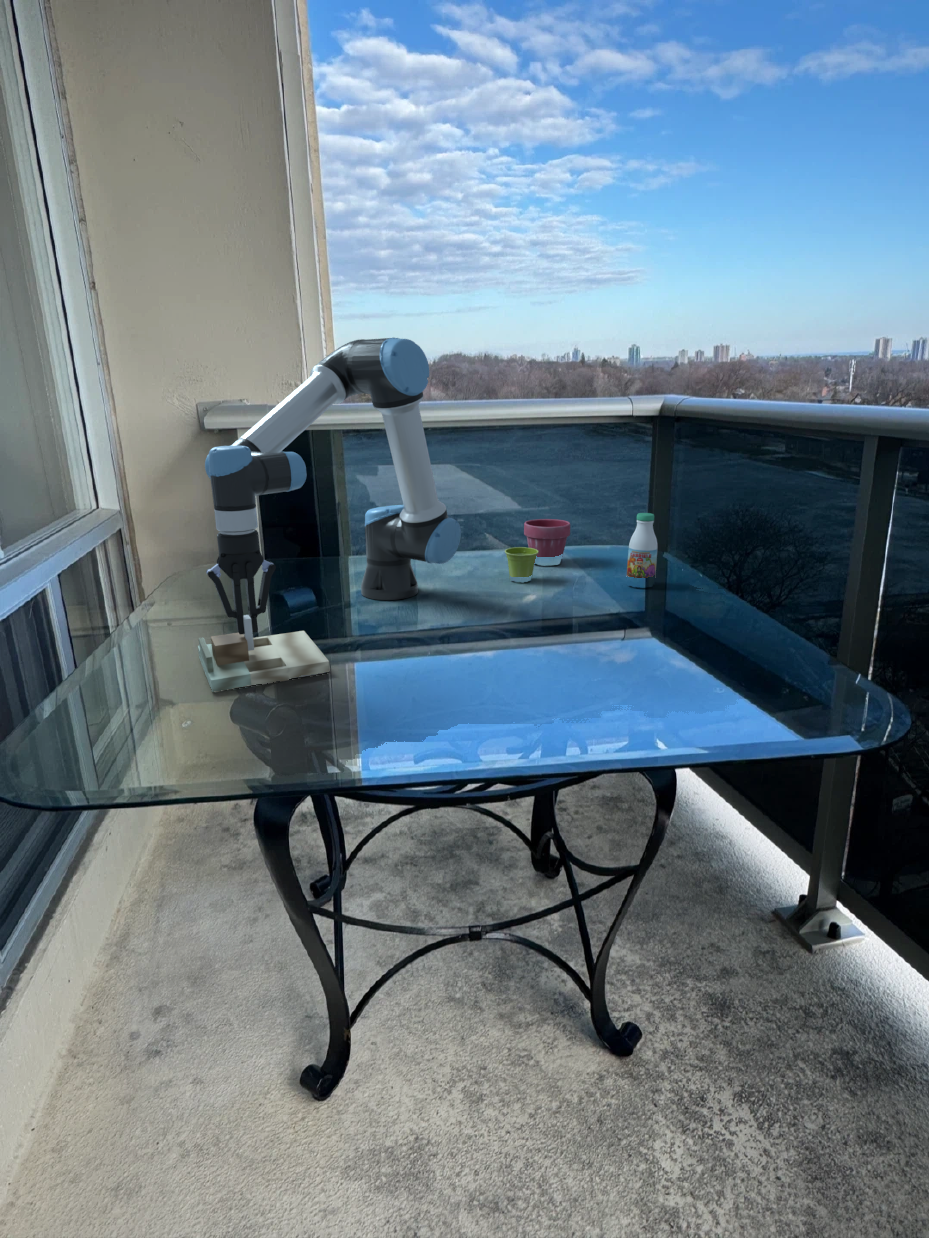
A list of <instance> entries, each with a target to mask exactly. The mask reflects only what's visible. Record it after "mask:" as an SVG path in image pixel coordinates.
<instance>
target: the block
mask: <svg viewBox="0 0 929 1238" xmlns="http://www.w3.org/2000/svg"><path fill="white" fill-rule="evenodd" d="M210 640H211V641H210V642H211V643H210V644H212V653H213V657H214V659H215V662H216V664H217V666H218V665H224V664H231V663H237V662H244V661H249V653H248V643H247V640H246V638H245V637H244V635H243V634H239V632H233V633H227V634H226V633H225V634H218V635H213V636H212V635H211V636H210Z"/></svg>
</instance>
